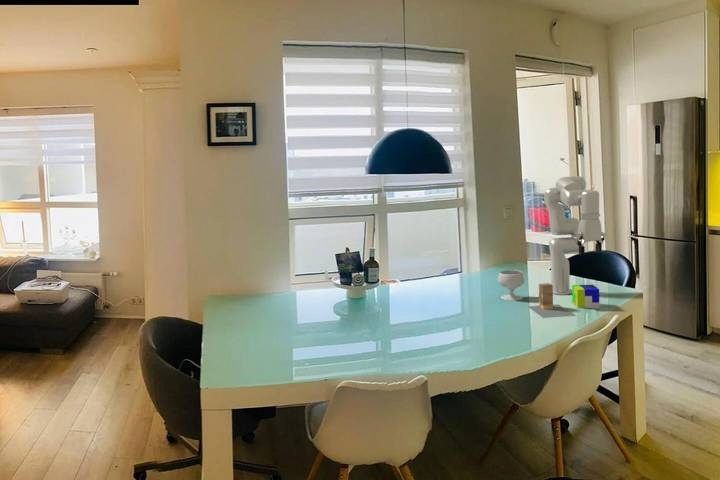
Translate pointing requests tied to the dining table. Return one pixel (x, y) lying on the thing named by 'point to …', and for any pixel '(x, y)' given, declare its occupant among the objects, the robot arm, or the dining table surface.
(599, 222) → the robot arm
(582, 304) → the puzzle toy
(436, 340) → the dining table surface
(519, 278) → the chalice
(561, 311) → the rubber mat
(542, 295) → the walnut block
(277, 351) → the dining table surface
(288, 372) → the dining table surface
